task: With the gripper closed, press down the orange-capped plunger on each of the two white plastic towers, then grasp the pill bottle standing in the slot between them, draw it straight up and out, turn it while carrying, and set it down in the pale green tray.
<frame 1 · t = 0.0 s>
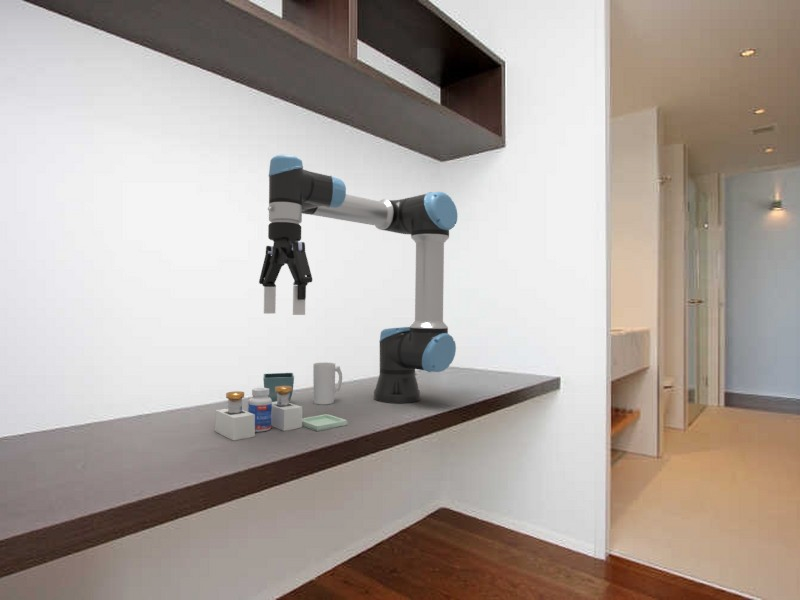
hand: (283, 314, 109), 28 cm above the table, fingers open, 13 cm apart
plunger 1: (235, 408, 109), point 6 cm above the table, slide at 0.0 cm
housing: (259, 429, 113), on the table
plunger 2: (283, 401, 117), point 6 cm above the table, slide at 0.0 cm
flower pot: (278, 405, 141), on the table
pill bottle: (259, 430, 113), on the table
mug: (328, 402, 146), on the table
tray: (322, 424, 118), on the table
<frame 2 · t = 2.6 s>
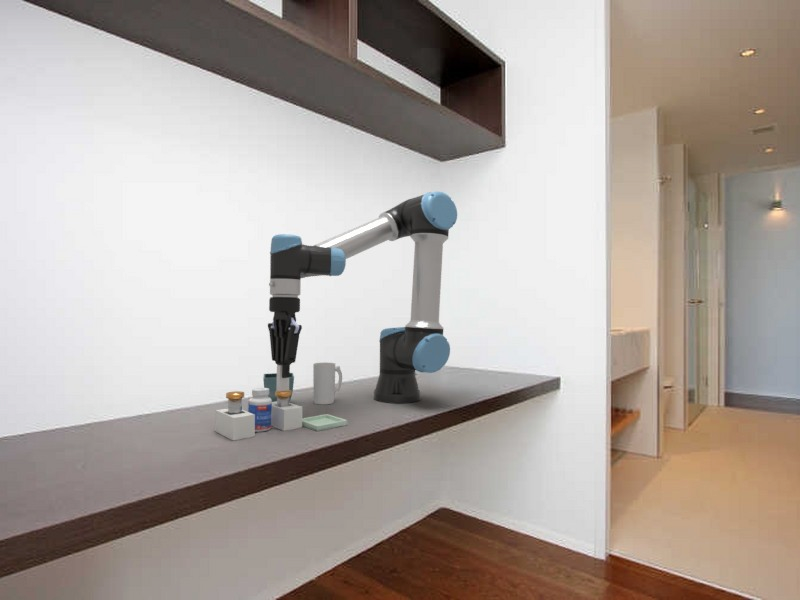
hand: (282, 390, 117), 9 cm above the table, fingers closed
plunger 2: (283, 405, 117), point 5 cm above the table, slide at 1.1 cm, touching gripper
everything else where it was.
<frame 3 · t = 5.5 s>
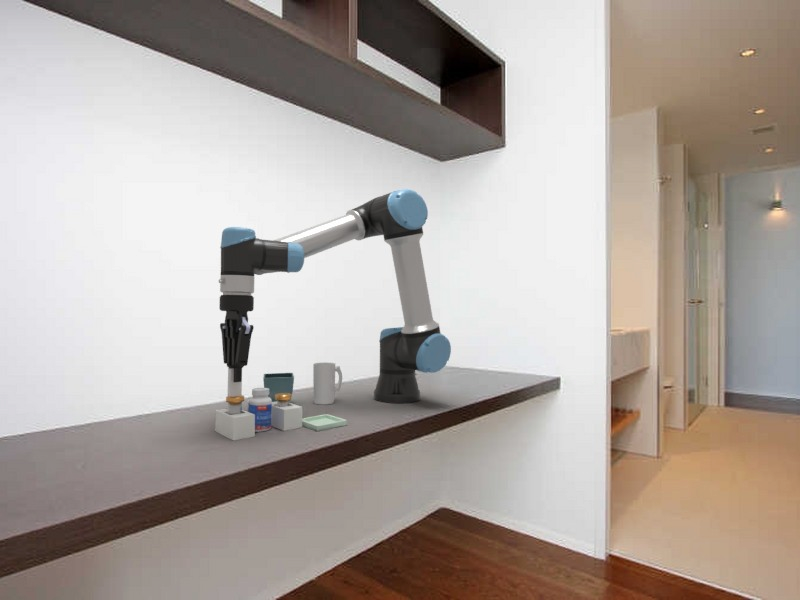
hand: (234, 395, 109), 9 cm above the table, fingers closed
plunger 1: (234, 411, 109), point 5 cm above the table, slide at 0.9 cm, touching gripper
plunger 2: (283, 408, 117), point 4 cm above the table, slide at 1.9 cm
everything else where it was.
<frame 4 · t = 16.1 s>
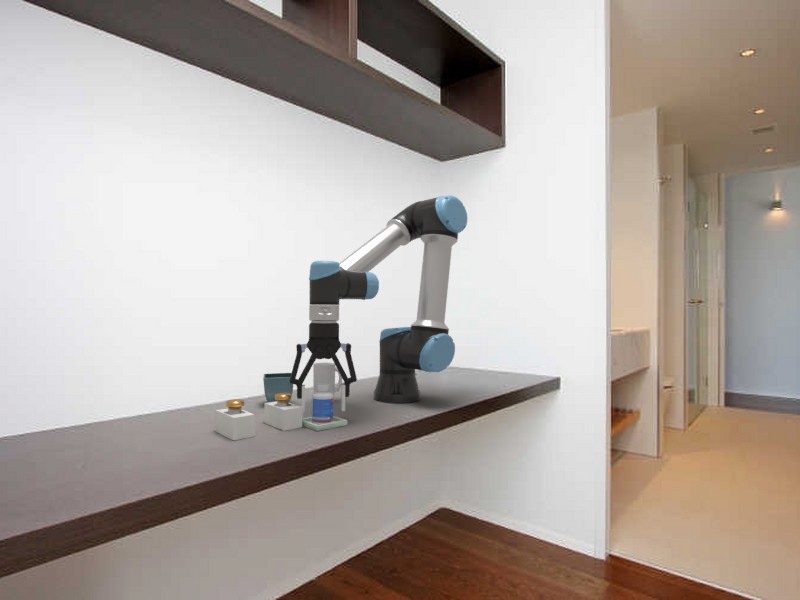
hand: (323, 410, 118), 3 cm above the table, fingers open, 9 cm apart
plunger 1: (234, 416, 109), point 4 cm above the table, slide at 1.9 cm
pill bottle: (322, 423, 118), resting on tray
everything else where it was.
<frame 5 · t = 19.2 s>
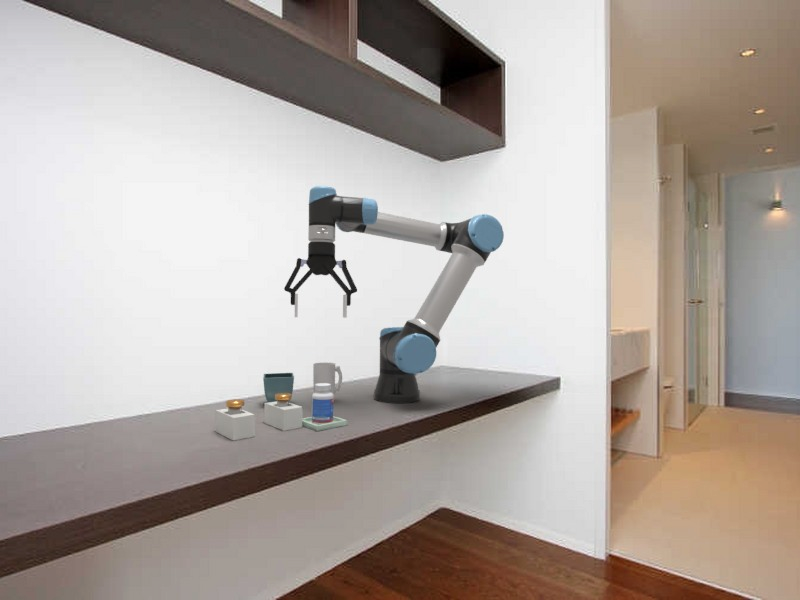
hand: (320, 317, 132), 27 cm above the table, fingers open, 13 cm apart
nothing on the table moved.
at the end: pill bottle inside the target area on the tray (0.0 cm from its centre), point 0.2 cm above the tray's base; plunger 2 slide at 1.9 cm; plunger 1 slide at 1.9 cm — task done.
